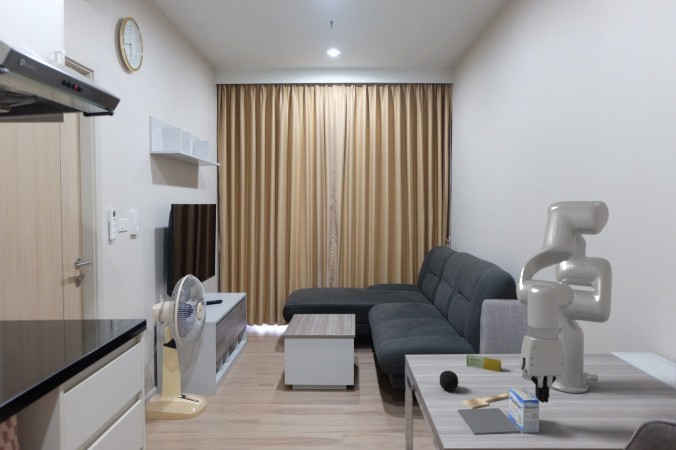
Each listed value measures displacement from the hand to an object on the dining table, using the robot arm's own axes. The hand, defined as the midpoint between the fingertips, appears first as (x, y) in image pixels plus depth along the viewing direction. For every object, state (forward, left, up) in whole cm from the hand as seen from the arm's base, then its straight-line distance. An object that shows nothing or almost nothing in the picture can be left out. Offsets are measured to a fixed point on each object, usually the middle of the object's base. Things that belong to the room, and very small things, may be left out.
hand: (542, 400), depth 116 cm
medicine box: (+5, 0, -7) cm, 9 cm away
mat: (+14, -3, -7) cm, 16 cm away
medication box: (-1, -42, -7) cm, 42 cm away
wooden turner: (+9, -15, -7) cm, 19 cm away
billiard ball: (+18, -24, -7) cm, 31 cm away
